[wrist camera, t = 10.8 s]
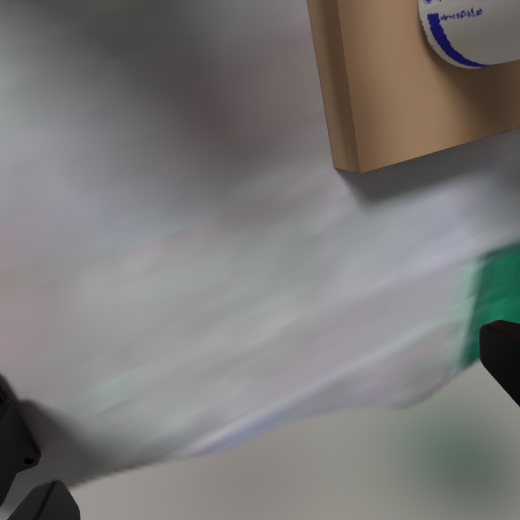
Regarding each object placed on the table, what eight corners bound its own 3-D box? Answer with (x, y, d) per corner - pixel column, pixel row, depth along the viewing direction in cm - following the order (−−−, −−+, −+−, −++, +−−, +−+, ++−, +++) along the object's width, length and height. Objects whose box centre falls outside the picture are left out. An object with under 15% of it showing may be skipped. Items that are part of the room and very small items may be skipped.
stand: (334, 167, 20) (360, 173, 17) (287, -124, 15) (312, -178, 13) (530, 111, 21) (583, 108, 19) (538, -168, 17) (609, -226, 14)
